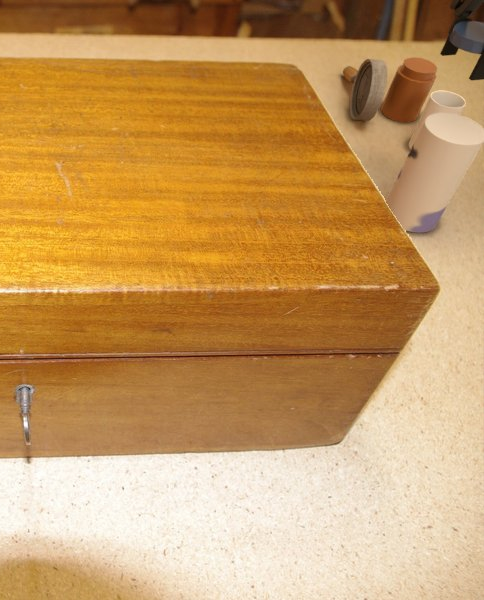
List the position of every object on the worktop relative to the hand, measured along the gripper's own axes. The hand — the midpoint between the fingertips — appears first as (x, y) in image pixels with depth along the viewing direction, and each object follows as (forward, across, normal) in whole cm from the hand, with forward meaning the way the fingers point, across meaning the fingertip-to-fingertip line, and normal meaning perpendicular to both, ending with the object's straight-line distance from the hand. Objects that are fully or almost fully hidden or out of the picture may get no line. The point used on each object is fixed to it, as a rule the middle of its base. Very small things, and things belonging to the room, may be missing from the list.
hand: (462, 66), depth 125 cm
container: (+25, +11, -5) cm, 28 cm away
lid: (-6, 0, 0) cm, 6 cm away
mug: (+25, -11, +11) cm, 30 cm away
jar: (+25, -23, +12) cm, 37 cm away
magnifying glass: (+25, -29, +4) cm, 39 cm away
